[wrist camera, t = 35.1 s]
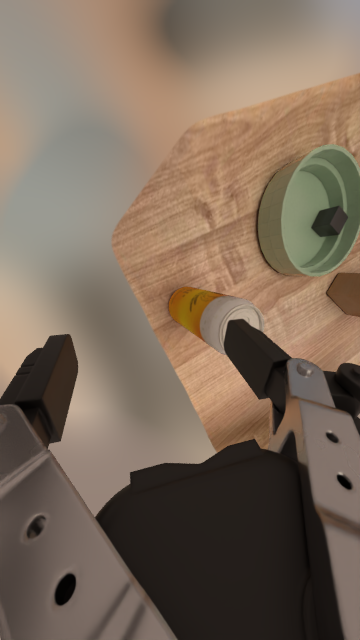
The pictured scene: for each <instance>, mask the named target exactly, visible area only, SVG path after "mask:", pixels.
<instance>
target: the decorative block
mask: <svg viewBox="0 0 360 640" xmlns="http://www.w3.org/2000/svg"><path fill="white" fill-rule="evenodd" d="M327 294H328V295H329V296H330V297H331V298H332V299H333V301H334V302H335V303H336V304H337V305H338V306H339V307H340V308H341V309H342V310H343V311H344V312H345V313H346V314H347V315H352V316H358V317H360V273H339V274H338V275H337V276H336V278H335V280H334V281H333V283H332V285H331V286H330V288H329V290H328V291H327Z"/></svg>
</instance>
